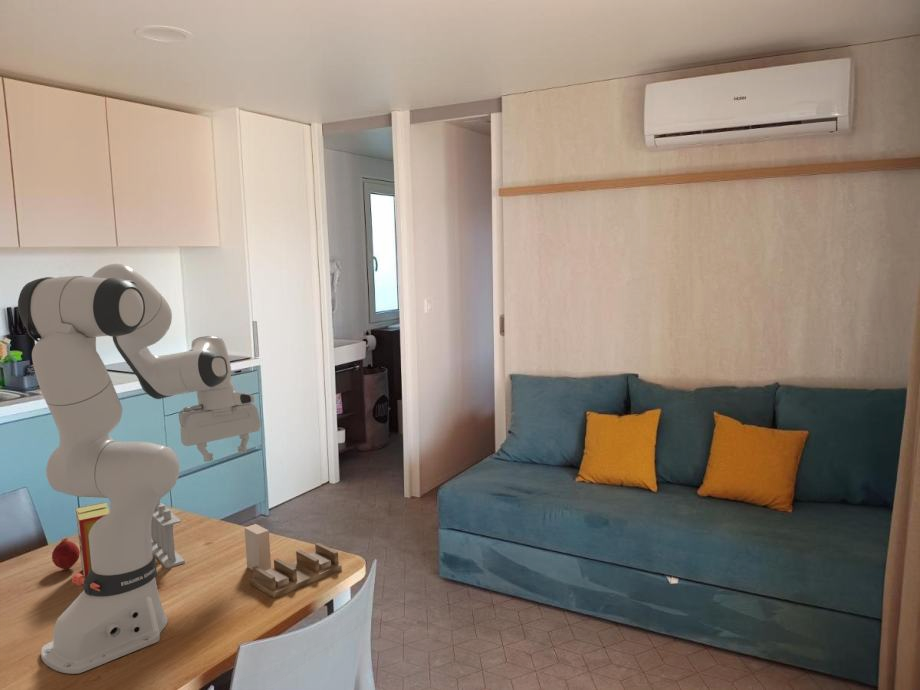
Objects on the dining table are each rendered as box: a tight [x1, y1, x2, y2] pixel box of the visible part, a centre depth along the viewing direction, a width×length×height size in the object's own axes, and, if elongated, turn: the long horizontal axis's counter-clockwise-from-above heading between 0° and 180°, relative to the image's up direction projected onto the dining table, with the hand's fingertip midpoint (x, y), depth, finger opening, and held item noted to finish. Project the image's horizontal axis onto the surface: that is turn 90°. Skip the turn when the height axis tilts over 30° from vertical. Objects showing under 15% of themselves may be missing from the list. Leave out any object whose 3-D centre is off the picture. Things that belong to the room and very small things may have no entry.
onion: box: [51, 536, 81, 570], centre depth 167 cm, size 6×6×8 cm
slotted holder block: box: [250, 542, 343, 599], centre depth 161 cm, size 18×10×4 cm, turn 136°
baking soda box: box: [75, 502, 110, 577], centre depth 164 cm, size 10×6×16 cm
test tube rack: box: [151, 500, 186, 570], centre depth 177 cm, size 25×4×13 cm, turn 39°
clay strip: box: [244, 523, 272, 571], centre depth 165 cm, size 3×6×10 cm, turn 46°
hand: (226, 456), depth 171 cm, fingers open, 8 cm apart
